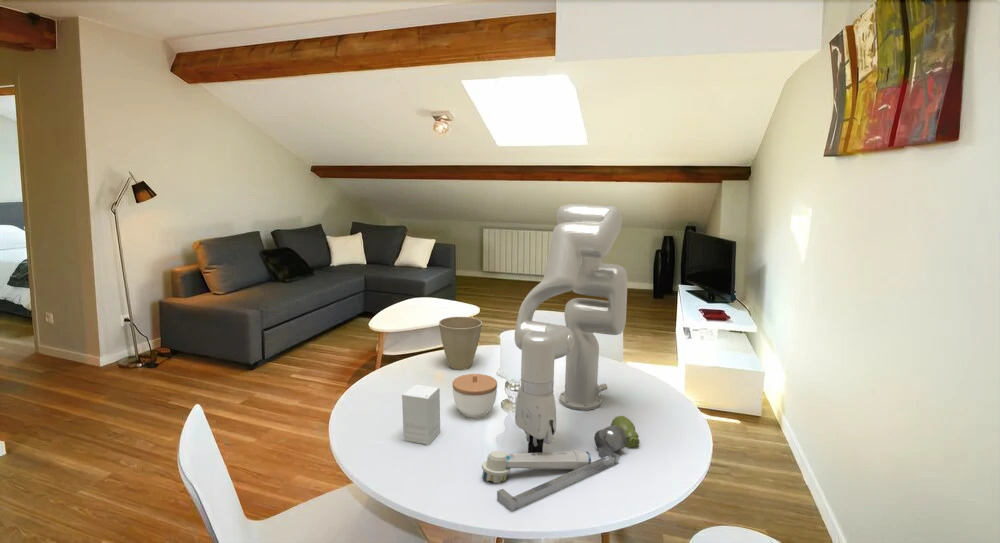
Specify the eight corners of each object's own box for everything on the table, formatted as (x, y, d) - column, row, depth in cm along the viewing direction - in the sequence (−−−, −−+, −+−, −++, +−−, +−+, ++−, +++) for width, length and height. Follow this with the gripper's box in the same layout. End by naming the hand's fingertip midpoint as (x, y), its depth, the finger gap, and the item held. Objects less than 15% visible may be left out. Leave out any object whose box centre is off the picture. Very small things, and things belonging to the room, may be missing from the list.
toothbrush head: (593, 457, 123) (487, 455, 117) (588, 484, 124) (483, 483, 118) (585, 446, 128) (483, 443, 122) (580, 472, 129) (478, 470, 123)
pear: (627, 411, 143) (646, 434, 134) (625, 427, 145) (643, 451, 136) (608, 413, 142) (626, 436, 133) (606, 429, 143) (623, 454, 134)
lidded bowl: (476, 398, 162) (476, 364, 160) (506, 412, 153) (506, 376, 151) (443, 411, 154) (443, 375, 151) (472, 426, 145) (473, 388, 143)
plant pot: (464, 377, 179) (464, 331, 176) (430, 367, 187) (429, 323, 184) (490, 364, 191) (490, 320, 188) (456, 355, 199) (456, 314, 196)
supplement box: (441, 432, 142) (440, 387, 139) (428, 445, 135) (427, 398, 132) (416, 427, 144) (415, 383, 142) (402, 440, 137) (401, 394, 135)
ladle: (607, 443, 137) (608, 421, 136) (632, 456, 131) (633, 433, 130) (488, 492, 116) (489, 467, 114) (511, 511, 109) (512, 485, 108)
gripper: (504, 378, 128) (503, 449, 131) (546, 400, 116) (543, 477, 119) (529, 371, 132) (527, 440, 136) (571, 392, 120) (568, 467, 124)
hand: (535, 457), depth 128 cm, fingers closed
